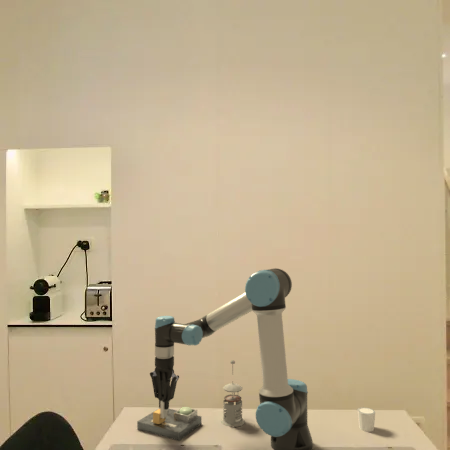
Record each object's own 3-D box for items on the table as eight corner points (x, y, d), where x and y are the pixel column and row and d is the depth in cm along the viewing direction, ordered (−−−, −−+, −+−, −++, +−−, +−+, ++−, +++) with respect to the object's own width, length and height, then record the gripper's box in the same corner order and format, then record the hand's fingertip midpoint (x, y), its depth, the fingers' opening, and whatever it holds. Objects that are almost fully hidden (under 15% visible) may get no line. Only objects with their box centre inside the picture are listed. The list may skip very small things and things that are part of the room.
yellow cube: (165, 420, 160) (165, 410, 160) (159, 424, 156) (159, 413, 156) (159, 418, 161) (159, 408, 161) (153, 422, 158) (153, 412, 158)
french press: (218, 425, 163) (218, 362, 164) (225, 413, 174) (225, 355, 175) (242, 428, 160) (242, 364, 162) (247, 415, 172) (247, 356, 173)
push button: (194, 415, 164) (194, 408, 164) (187, 420, 160) (187, 413, 160) (184, 413, 166) (184, 406, 167) (177, 418, 162) (177, 410, 162)
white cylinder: (355, 430, 159) (355, 412, 159) (358, 423, 165) (358, 405, 165) (374, 433, 156) (374, 415, 156) (376, 426, 162) (376, 409, 162)
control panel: (201, 423, 164) (201, 410, 164) (178, 440, 150) (179, 425, 150) (161, 413, 173) (162, 401, 174) (137, 429, 159) (137, 414, 160)
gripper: (183, 356, 159) (183, 416, 158) (157, 351, 165) (156, 410, 164) (172, 360, 152) (171, 424, 151) (145, 356, 159) (144, 417, 158)
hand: (163, 416), depth 158 cm, fingers closed
